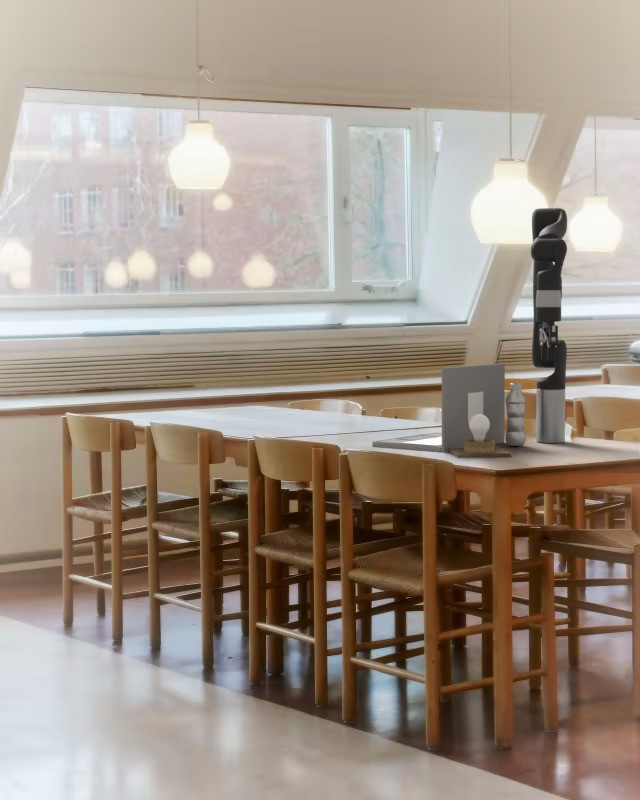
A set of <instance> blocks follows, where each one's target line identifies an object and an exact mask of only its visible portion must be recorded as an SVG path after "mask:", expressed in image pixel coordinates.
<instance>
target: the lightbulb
mask: <svg viewBox="0 0 640 800" xmlns="http://www.w3.org/2000/svg"><path fill="white" fill-rule="evenodd" d="M489 428H490V421H489V419H488V418H487V417H486V416H485V415H483V414H476V415H474V416H472V417H471V419H470V420H469V429H470V431H471V432H472V434H473V437H474V440H475V442H484V439H485V435H486V433H487V432H488V430H489Z"/></svg>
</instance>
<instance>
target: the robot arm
mask: <svg viewBox="0 0 640 800" xmlns="http://www.w3.org/2000/svg"><path fill="white" fill-rule="evenodd" d="M567 228H568V216H567V212H566V211H565V209H563V208H560V207H548V208H546V207H545V208H542V207H541V208H536V209H535V208H534V210H533V212H532V216H531V232H532V235H531V236H532V244H531V247H530V255H531V259H533V270H532V271H533V274H532V276H533V277H532V297H533V298H532V302H533V303H532V305H533V325H532V326H533V327H532V341H531V342H532V345H531V361H532V364H533V367H535V368H537V369H538V368H539V369H545V368H546V369H554V370H553V373H552V374H550V375H548V376H546V377H543V378H540V379H538V380H536V406H535V407H536V408H535V409H536V413H535V415H536V417H535V418H536V422H535V423H536V425H535V426H536V427H535V428H536V430H535V432H536V433H535V434H536V435H535V437H536V438H535V439H536V440H535V441H536V442H537V443H547V444H554V443H555V444H557V443H559V444H561V443H565V442H566V382H567V381H566V380H567V379H566V375H567V360H568V359H567V357H568V349H567V348H568V347H567V343H566V341H565V340H564V339H559V325H557V324H555V323H556V322H559V323H560V322H561V321H562V299H563V279H562V270H563V266H564V263H565V259H566V257H567V252H568V247H567V246H568V245H567V243H566V241H565V240H564V239H563V238H564V236H565V235H566V234H567Z"/></svg>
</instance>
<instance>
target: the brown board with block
mask: <svg viewBox="0 0 640 800" xmlns="http://www.w3.org/2000/svg"><path fill="white" fill-rule="evenodd" d="M450 452H451V454H452V455H453V456H454V455H455V456H454V457H456V458H457V457H462V458H511V457H512V453H511V452H510V451H507V449H504V448H502V447H496V444H495V441H494V440H488V439H484V442H475V440H474V439H470V440H464V448H449V452H448V453H450Z"/></svg>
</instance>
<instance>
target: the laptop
mask: <svg viewBox="0 0 640 800" xmlns="http://www.w3.org/2000/svg"><path fill="white" fill-rule="evenodd" d="M505 365H506V364H505V362H504V363H493V364H480V365H479V364H478V365H477V364H476V365H465V366H464V365H463V366H453V367H452V366H449V367H441V432H431V433H424V434H418V435H410V436H402V437H395V438H390V439H387V438H386V439H381V440H373V441H372V442H371V443H372V447H375V448H386V449H387V448H389V449H400V450H411V451H423V452H424V451H425V452H435V453H436V452H437V453H447V451H449V448H464V440H470V439H474V437H473V434H472V432H471V431H470V429H469V420H470V419H471V417H472V416H474V415H476V414H483V415H485V416H486V417H487V418H488V419H489V421H490V428H489V430H488V432H487V433H486V435H485V439H488V440H494V441H495V445H497V443H498V444H503V443H502V442H504V443H505V413H506V412H505V409H506V407H505V406H506V405H505V404H506V396H505V389H506V388H505V387H506V385H505V382H506V381H505V376H506V375H505V374H506V373H505V371H506V369H505V368H506V367H505Z"/></svg>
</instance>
